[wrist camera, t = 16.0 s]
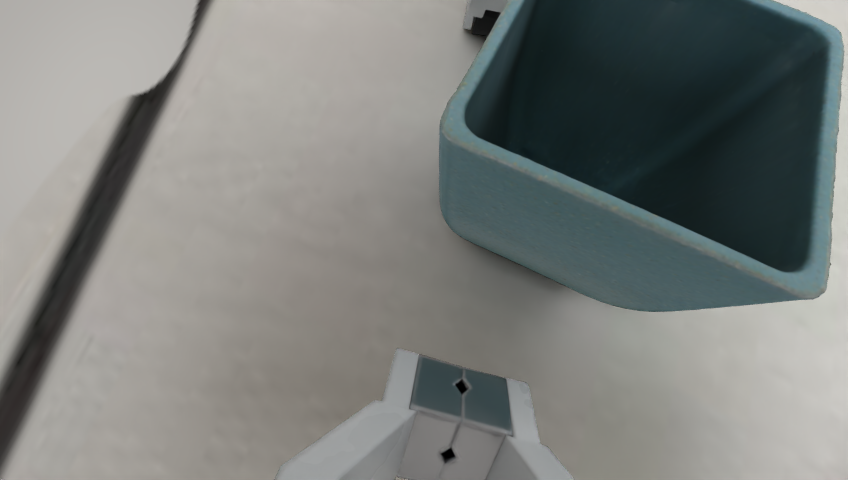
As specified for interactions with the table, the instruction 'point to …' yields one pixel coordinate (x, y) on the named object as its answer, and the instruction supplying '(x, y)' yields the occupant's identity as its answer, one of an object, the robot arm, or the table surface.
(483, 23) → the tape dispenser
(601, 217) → the flower pot
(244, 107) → the table surface
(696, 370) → the table surface
